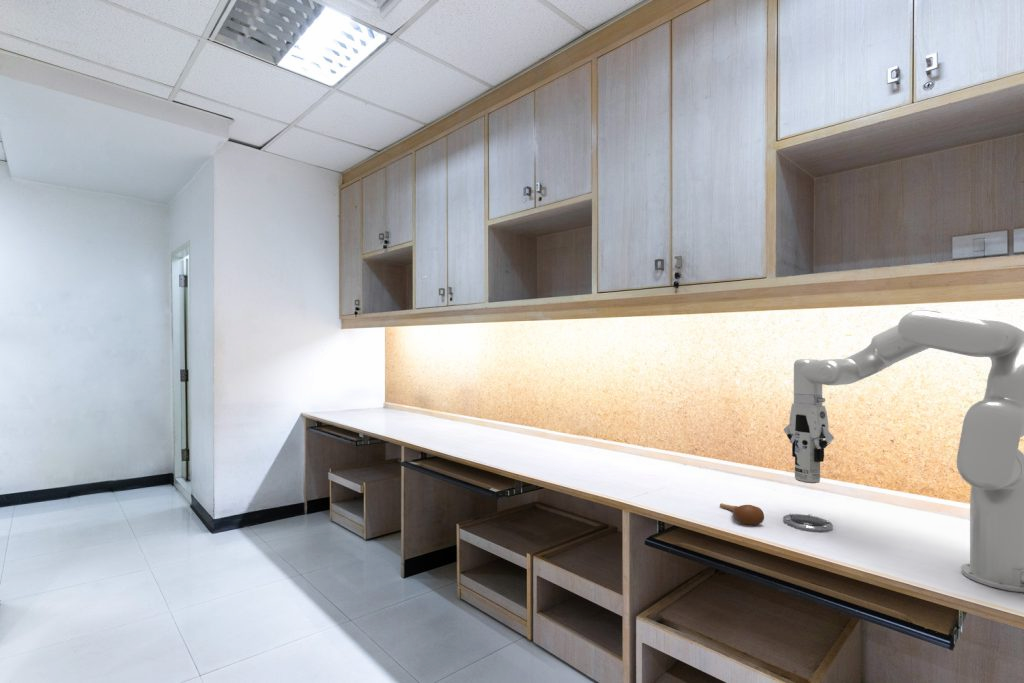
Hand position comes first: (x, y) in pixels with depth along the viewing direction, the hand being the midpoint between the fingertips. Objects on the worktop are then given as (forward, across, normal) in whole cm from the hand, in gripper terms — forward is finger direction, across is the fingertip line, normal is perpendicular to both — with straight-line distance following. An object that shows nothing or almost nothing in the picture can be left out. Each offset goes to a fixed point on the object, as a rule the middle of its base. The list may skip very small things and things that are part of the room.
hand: (807, 458), depth 153 cm
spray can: (+7, 0, 0) cm, 7 cm away
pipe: (+20, +13, +16) cm, 29 cm away
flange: (+20, 0, 0) cm, 20 cm away
